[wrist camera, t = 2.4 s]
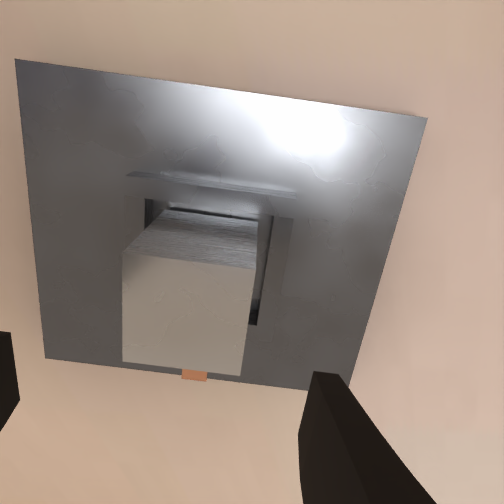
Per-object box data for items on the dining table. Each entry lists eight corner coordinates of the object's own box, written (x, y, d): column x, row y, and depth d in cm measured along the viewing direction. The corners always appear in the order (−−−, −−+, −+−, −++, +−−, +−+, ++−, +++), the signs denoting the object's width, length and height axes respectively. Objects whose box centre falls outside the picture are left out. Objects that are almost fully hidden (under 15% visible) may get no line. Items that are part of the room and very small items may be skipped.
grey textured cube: (161, 300, 17) (122, 373, 12) (164, 209, 15) (122, 252, 11) (244, 311, 17) (238, 387, 12) (257, 221, 15) (256, 270, 11)
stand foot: (57, 344, 20) (29, 376, 17) (33, 62, 15) (-11, 53, 12) (341, 379, 20) (351, 415, 18) (415, 117, 15) (444, 118, 13)
